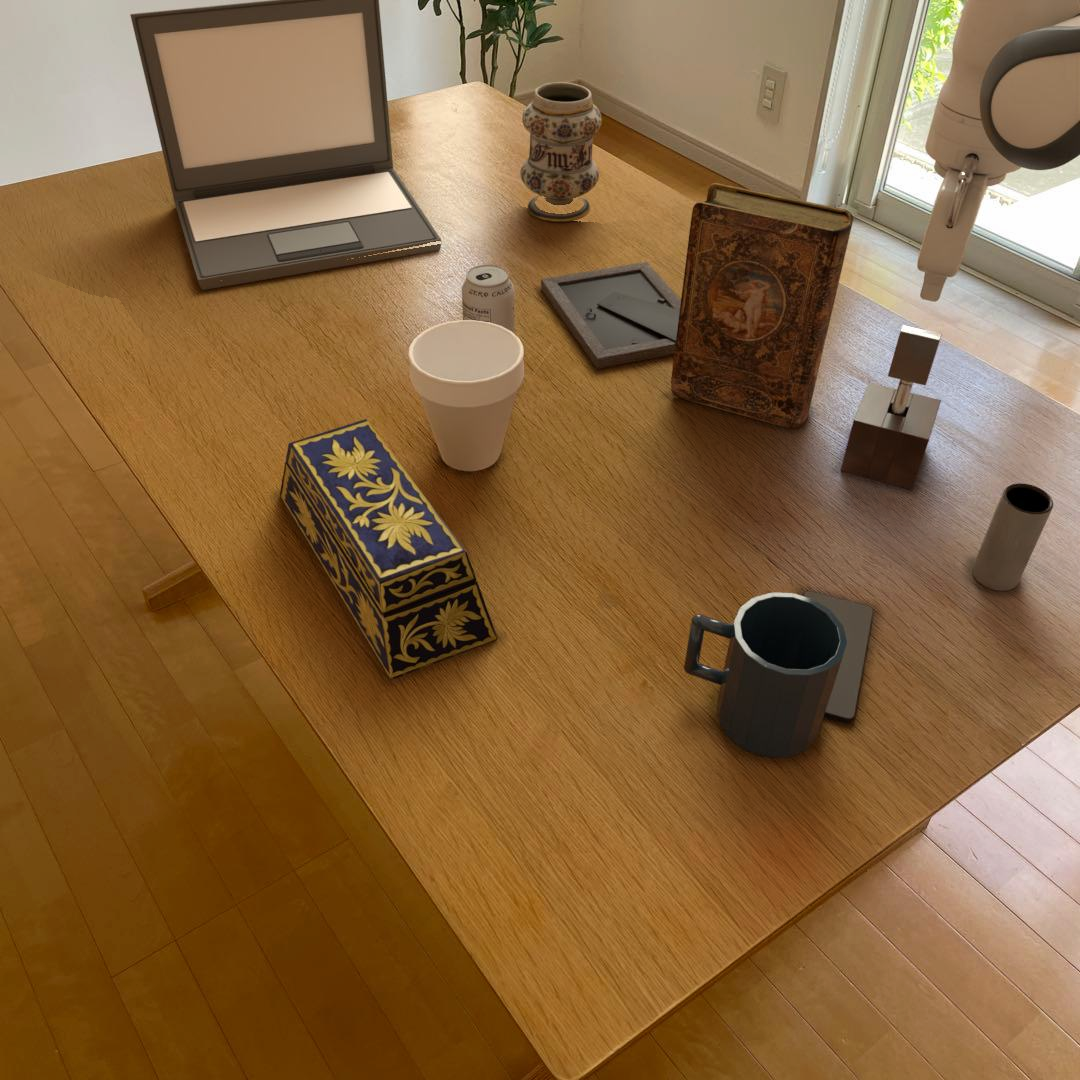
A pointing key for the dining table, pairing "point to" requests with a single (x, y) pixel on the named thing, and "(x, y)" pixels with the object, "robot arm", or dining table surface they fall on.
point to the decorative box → (384, 549)
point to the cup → (467, 388)
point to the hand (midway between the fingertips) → (937, 275)
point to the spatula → (912, 362)
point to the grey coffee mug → (773, 671)
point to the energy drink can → (489, 296)
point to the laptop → (278, 137)
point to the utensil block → (889, 437)
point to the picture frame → (617, 312)
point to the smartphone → (847, 654)
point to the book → (757, 302)
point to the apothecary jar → (560, 147)
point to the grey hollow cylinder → (1012, 536)
